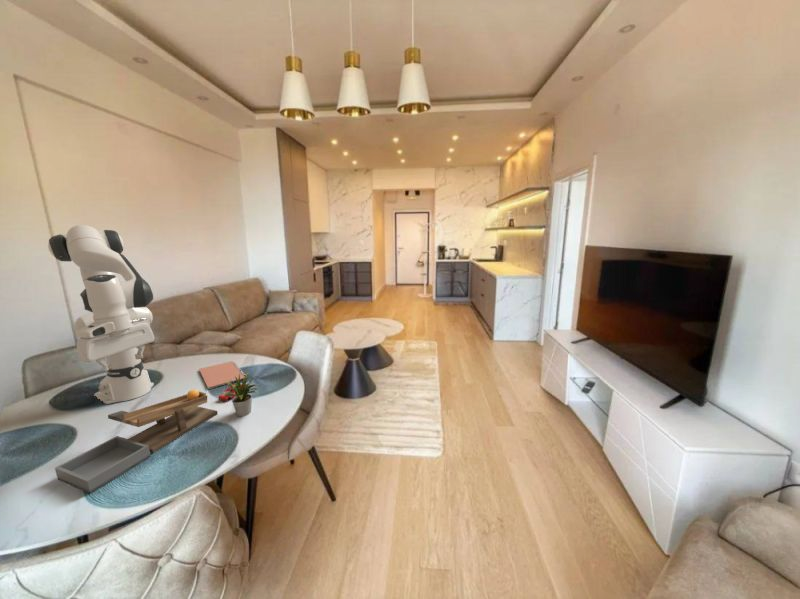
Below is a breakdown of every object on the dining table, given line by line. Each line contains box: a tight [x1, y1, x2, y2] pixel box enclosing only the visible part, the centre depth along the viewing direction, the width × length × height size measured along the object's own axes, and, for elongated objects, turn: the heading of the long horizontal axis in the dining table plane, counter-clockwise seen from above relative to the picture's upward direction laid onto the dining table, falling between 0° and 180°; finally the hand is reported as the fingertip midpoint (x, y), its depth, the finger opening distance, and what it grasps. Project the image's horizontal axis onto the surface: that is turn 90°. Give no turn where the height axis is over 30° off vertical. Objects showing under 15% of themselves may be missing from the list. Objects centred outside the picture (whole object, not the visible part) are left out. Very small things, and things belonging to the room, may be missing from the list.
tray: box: [54, 435, 152, 495], centre depth 97 cm, size 16×16×4 cm
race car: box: [218, 382, 242, 402], centre depth 140 cm, size 13×5×4 cm, turn 158°
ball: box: [186, 389, 200, 400], centre depth 123 cm, size 4×4×4 cm
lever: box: [107, 390, 208, 428], centre depth 115 cm, size 16×24×4 cm, turn 160°
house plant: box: [218, 371, 260, 417], centre depth 123 cm, size 14×14×16 cm
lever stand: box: [128, 406, 219, 454], centre depth 116 cm, size 14×24×9 cm, turn 160°
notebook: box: [198, 360, 246, 390], centre depth 161 cm, size 27×17×2 cm, turn 39°
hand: (124, 364), depth 107 cm, fingers open, 8 cm apart
